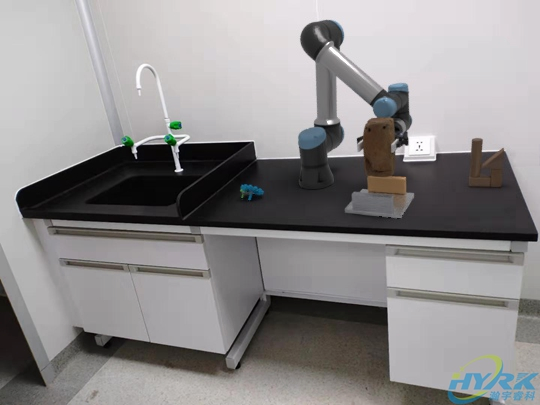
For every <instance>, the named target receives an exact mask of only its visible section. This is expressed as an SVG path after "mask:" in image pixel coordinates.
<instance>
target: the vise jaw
mask: <svg viewBox="0 0 540 405" xmlns="http://www.w3.org/2000/svg"><path fill="white" fill-rule="evenodd" d="M366 178H367V179H366V180H367V189H368V191H373V192H385V193H397V194H405V193H407V177H406V176H393V175H392V176H389V177H373V176H367V177H366Z"/></svg>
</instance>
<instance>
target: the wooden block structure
mask: <svg viewBox="0 0 540 405" xmlns="http://www.w3.org/2000/svg"><path fill="white" fill-rule="evenodd" d="M483 141H484V139H483V138H481V137H475V138H472V139H471V149H470V165H469V168H470V169H469V175H468V187H479V188H480V187H481V188H482V187H486V188H487V187H488V188H489V187H491V188H501V187H502V183H503V182H502V181H503V169H504V158H505V149H504V148H505V147H502V148H501V149H499V150H498V151H497V152H496V153H495V154H493V155H492V156H490V157H489V158H488V159H487V160H486V161H484V162H483V163H482V159H483V158H482V157H483ZM481 170H490V174H489V175H486V174H482V172H481Z"/></svg>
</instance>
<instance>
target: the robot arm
mask: <svg viewBox="0 0 540 405" xmlns="http://www.w3.org/2000/svg"><path fill="white" fill-rule="evenodd" d="M299 37H300V38H299V42H300V46H301V49H302V50H303V51H304V52H305V54H306V55H307V56H308V57H309V58H310V59H311V60H313V62H315V63H314V64H315V87H316V88H315V91H316V95H315V96H316V116H317V117H316V118H315V119H314V120H313V126H312V127H308V128H306V129H305V128H304V129H303V130H301V132H300V131H299V133H298V137H297V141H298V142H297V144H298V150H299V157H300V158H299V159H300V164H301V165H300V173H299V177H298V185H299V186H300V188H303V189H306V190H318V189H319V190H320V189H324V188H327V187H330V186H331V185H333V184H334V182H335V180H334V178H335V177H334V174H333V173H332V170H331V168H330V166H329V158H328V154H329V153H330V152H332V151H333V150H335V149H337V148H338V147H339V146H340V145H341V144H342V143H343V141H344V139H345V128H344V127H343V126H342V125H341V119H340V118H339V117H338V112H337V111H338V109H337V108H338V104H337V102H338V100H337V97H338V96H337V95H338V94H337V92H338V91H337V88H338V86H337V78H338V79H339V80H340V81H341V82H342V83H344V84H345V85H346V86H347V87H349V88H350V89H351V90H352V91H353V92H354V93H355V94H356V95H357V96H359V97H360V98H361V99H362V100H363V101H364V102H366V103H367V104H368V105H369V106H370V107H371V108H372V112H373V115H374V116H375V118H377V117H383V118H387V117H390V118H393V120H394V130H395V141H394V142H393V143H392V144H391V153H394V152H395V153H396V150H398V149H399V148H401V147H403V146H405V147H408V146H410V145H409V139H410V138H409V136H408V134H409V130H410V128H411V126H412V124H413V117H412V116H411V114H410V113H411V112H410V96H409V95H410V91H409V85H408V83H406V82H397V83H396V82H395V83H392V84H390V85H388V87H387V90H386V89H384V87H383V86H381V85H380V84H379V83H378V82H377V81H375V80H374V79H373V78H372V77H371V76H370V75H369V74H367V73H366V72H365V71H364V70H362V69H361V68H360V67H359V66H358V65H357V64H356V63H355V62H353V61H352V60H351V59H349V58H348V57H347V56H346V55H345V54H344V53H342V52H341V46H342V44H343V43H344V41H345V40H344V39H345V31H344V28H343V27H342V25H341V24H340V23H339V22H338V21H336V20H333V19H323V20H318V21H313V22H309V23H308V24H306V25H305V26H304V27H303V28H302V30H301V32H300V36H299ZM356 148H357V153H361V151H363V135H362V136H359V137H357V138H356Z"/></svg>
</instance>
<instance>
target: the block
mask: <svg viewBox="0 0 540 405" xmlns="http://www.w3.org/2000/svg"><path fill="white" fill-rule="evenodd" d="M362 136H363V149H362V151H363V152H362V154H363V172H364V173H365V175H366V176H367V177H368V176H373V177H389V176H393V175H394V174H395V172H396V151H395V152H394V153H391V144H392V143H393V142H394V141H395V130H394V120H393V118H390V117H387V118H383V117H371V118H369V119H368V120H367V122H366V123H365V124H364V127H363V133H362Z"/></svg>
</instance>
